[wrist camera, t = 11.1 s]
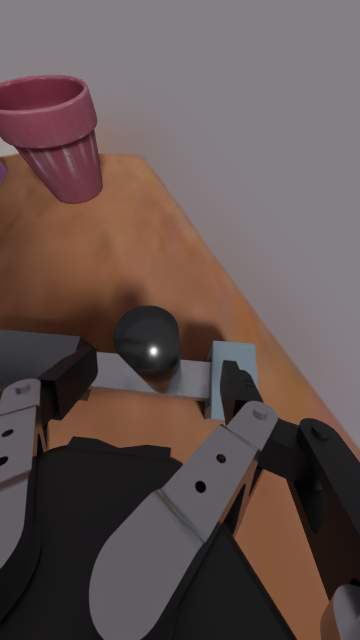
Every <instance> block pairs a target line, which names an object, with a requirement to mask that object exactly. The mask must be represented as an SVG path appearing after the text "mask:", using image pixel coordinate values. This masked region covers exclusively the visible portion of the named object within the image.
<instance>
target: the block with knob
mask: <svg viewBox="0 0 360 640" xmlns="http://www.w3.org/2000/svg"><path fill="white" fill-rule="evenodd" d="M113 342H114V347H115V349H116V351H117V353H118V354H114V353H103V352H97V363H98V374H97V377H96V379H95V381H94V382H93V383H92V384H91V386H90V387H89V388H88V389H90V390H100V391H109V392H119V393H128V394H138V395H147V396H157V397H166V398H176V399H185V400H195V401H204V402H210V396H211V362H201V361H190V360H180V343H179V329H178V325H177V322H176V320H175V319H174V317H173V316H172V315H171V314H170V313H169V312H168V311H166V310H164V309H162V308H160V307H156V306H142V307H138V308H135V309H133V310H131V311H129V312H128V313H126V314H125V315H124V316H123V317H122V318H121V319H120V321H119V322H118V323H117V325H116V328H115V330H114V335H113Z"/></svg>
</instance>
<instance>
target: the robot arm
mask: <svg viewBox="0 0 360 640" xmlns="http://www.w3.org/2000/svg"><path fill="white" fill-rule="evenodd" d="M97 374H98V363H97V351H96V349H95V348H89V347H81V348H80V349H79V350H77V351H76V352H75V353H74V354H71V355H69V356H67V357H64V358H63V359H61V360H60V361H59V362H58V363H56V364H55V365H53V367H51V368H49V369H48V370H47V371H45V372H44V373H43V374H41V375H40V376H39V377H37V378H36V379H25V380H21V381H18V382H15V383H13V384H11V385H9V386H8V387H6V388H5V389H4V391H1V392H0V640H297V639H296V637H295V635H294V634H293V632H292V630H291V629H290V627H289V626H288V624H287V622H286V621H285V619H284V618H283V616H282V614H281V613H280V611H279V610H278V608H277V606H276V605H275V603H274V602H273V600H272V598H271V597H270V595H269V594H268V592H267V590H266V589H265V587H264V586H263V584H262V582H261V581H260V579H259V577H258V576H257V574H256V573H255V571H254V569H253V568H252V566H251V565H250V563H249V561H248V560H247V558H246V557H245V555H244V553H243V552H242V550H241V549H240V547H239V545H238V544H237V542H236V541H235V539H234V538H235V536H236V534H237V532H238V529H239V527H240V525H241V522H242V519H243V517H244V514H245V511H246V508H247V506H248V503H249V501H250V499H251V497H252V495H253V493H254V491H255V488H256V486H257V484H258V482H259V480H260V478H261V476H262V474H263V472H264V469H265V470H267V471H270V472H272V473H274V474H276V475H279V476H281V477H283V478H286V480H287V483H288V486H289V489H290V492H291V495H292V497H293V500H294V503H295V506H296V509H297V512H298V514H299V517H300V520H301V523H302V526H303V529H304V531H305V534H306V537H307V540H308V543H309V546H310V548H311V551H312V554H313V557H314V560H315V563H316V565H317V568H318V571H319V574H320V577H321V580H322V582H323V585H324V588H325V591H326V594H327V597H328V599H329V604H328V605H327V607H326V609H325V611H324V613H323V615H322V617H321V623H320V632H321V640H360V462H359V461H358V459H357V458H356V457H355V455H354V454H353V453H352V451H351V450H350V449H349V447H348V446H347V445H346V443H345V442H344V441H343V439H342V438H341V437H340V435H339V434H338V433H337V432H336V431H335V430H334V429H333V428H332V427H330V426H329V425H327V424H325V423H323V422H321V421H319V420H316V419H311V418H305V419H303V420H301V422H300V424H299V425H296V424H293V423H290V422H287V421H284V420H281V419H279V418H278V416H277V414H276V412H275V411H274V410H273V409H272V408H271V407H270V406H268V405H266V404H264V402H263V400H262V398H261V396H260V394H259V392H258V389H257V387H256V385H255V383H254V381H253V379H252V377H251V375H250V374H249V373H248V372H247V371H246V370H240V369H239V367H238V364H237V362H236V361H231V360H223V364H222V371H221V379H220V395H221V401H222V407H223V412H224V418H225V423H226V427H225V426H224V425H222V424H220V425H219V426H218V427H217V428H216V429H215V430H214V431H213V432H212V433H211V434H210V435H209V437H208V438H207V439H206V440H205V441H204V442H203V443H202V444H201V446H200V447H199V448H198V449H197V450H196V451H195V452H194V453H193V454H192V456H191V457H190V458H189V459H188V460H187V461H186V462H185V463H184V464H182V463H181V462H180V461H178V460H176V459H174V458H172V457H170V454H171V448H168V447H160V446H151V445H142V446H133V447H125V448H117V447H115V446H112V445H110V444H107V443H105V442H103V441H100V440H98V439H92V438H83V437H75V436H73V438H72V439H71V441H70V442H69V444H68V445H65V446H60V447H57V448H53V449H51V450H49V425H48V422H49V421H50V420H51V419H53V420H62V419H63V418H64V417H65V415H66V414H67V413H68V412H69V411H70V409H71V408H72V407H73V406H74V405H75V403H76V402H77V401H78V400H79V399H80V397H81V396H82V395H83V394H84V393H85V391H86V390H87V389H88V388H89V387H90V386H91V384H92V383H93V382H94V381H95V379H96V377H97Z"/></svg>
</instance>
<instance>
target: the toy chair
mask: <svg viewBox="0 0 360 640" xmlns="http://www.w3.org/2000/svg"><path fill="white" fill-rule="evenodd" d="M6 173H7V169H6V168H5V166H4V165H3V164H2V162H1V161H0V185H1V183H2V181H3V179H4V177H5V175H6Z"/></svg>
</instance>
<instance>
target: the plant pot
mask: <svg viewBox="0 0 360 640" xmlns="http://www.w3.org/2000/svg"><path fill="white" fill-rule="evenodd" d="M96 124H97V116H96V112H95V109H94V105H93V102H92V99H91V95H90V93H89V89H88V87H87V84H86V83H85V82H84V81H83V80H81V79H79V78H76V77H72V76H65V75H41V76H40V75H39V76H29V77H22V78H17V79H12V80H9V81H5V82H2V83H0V137H1V138H2V139H3V140H4V141H5V142H6V143H8V144H10V145H13V146H14V147H15V148H16V149H17V150H18V152H19V153H20V154H21V156H22V157H23V158H24V159H25V160H26V162H27V163H28V164H29V165H30V167H31V168H32V169H33V170H34V172H35V173H36V174H37V175H38V176H39V178H40V179H41V180H42V181H43V183H44V184H45V185H46V186H47V187H48V188H49V190H50V191H51V192H52V193H53V195H54V196H55V197H56V198H57V199H58V200H59V201H61V202H64V203H71V204H72V203H82V202H85V201H88V200H91V199H93V198H94V197H96V196H97V195H98V194H99V193H100V192H101V190H102V178H101V171H100V163H99V156H98V149H97V143H96V137H95V132H94V128H95V127H96Z"/></svg>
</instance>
